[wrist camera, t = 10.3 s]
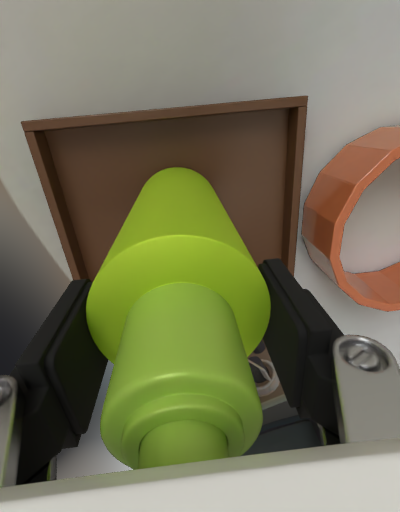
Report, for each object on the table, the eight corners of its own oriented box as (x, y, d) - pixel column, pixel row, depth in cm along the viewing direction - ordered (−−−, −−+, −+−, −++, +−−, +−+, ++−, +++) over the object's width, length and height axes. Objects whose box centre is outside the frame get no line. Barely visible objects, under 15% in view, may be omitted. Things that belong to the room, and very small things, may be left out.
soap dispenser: (154, 262, 22) (65, 832, 4) (127, 177, 19) (-542, 917, 1) (225, 246, 22) (432, 767, 4) (209, 158, 19) (709, 691, 1)
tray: (35, 121, 19) (19, 121, 17) (296, 98, 19) (308, 95, 17) (88, 294, 25) (82, 307, 23) (285, 272, 25) (293, 284, 24)
